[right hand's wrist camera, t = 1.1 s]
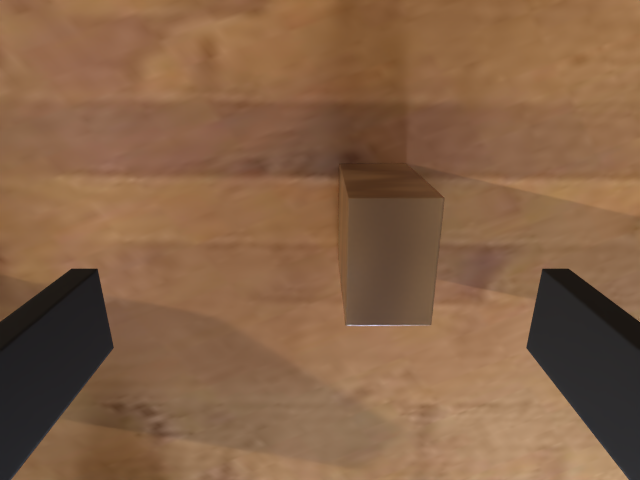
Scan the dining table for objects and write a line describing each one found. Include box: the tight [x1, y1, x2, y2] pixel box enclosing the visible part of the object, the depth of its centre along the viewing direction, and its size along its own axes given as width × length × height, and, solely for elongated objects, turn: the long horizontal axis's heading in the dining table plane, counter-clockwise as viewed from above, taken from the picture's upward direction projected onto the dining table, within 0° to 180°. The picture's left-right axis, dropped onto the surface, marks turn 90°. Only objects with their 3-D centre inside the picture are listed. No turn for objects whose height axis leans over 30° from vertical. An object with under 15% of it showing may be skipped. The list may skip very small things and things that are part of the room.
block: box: [338, 164, 444, 326], centre depth 26 cm, size 5×7×9 cm, turn 0°
